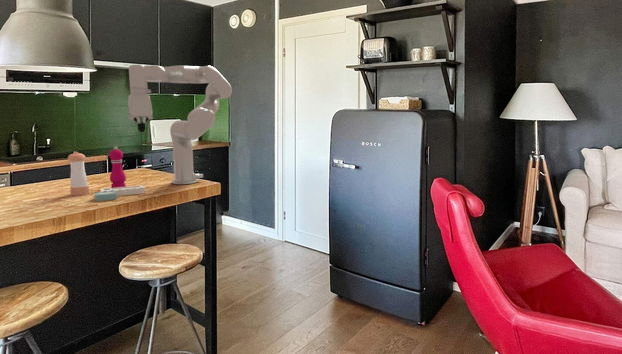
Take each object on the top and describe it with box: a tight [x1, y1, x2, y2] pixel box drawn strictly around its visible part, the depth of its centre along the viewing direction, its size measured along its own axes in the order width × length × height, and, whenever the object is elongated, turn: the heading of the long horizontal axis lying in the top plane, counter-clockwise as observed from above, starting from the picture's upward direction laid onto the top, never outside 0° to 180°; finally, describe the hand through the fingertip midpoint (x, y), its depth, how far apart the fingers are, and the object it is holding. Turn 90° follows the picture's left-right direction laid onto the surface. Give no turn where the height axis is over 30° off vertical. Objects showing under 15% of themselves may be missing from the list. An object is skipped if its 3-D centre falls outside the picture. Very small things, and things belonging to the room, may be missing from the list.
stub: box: [94, 191, 117, 202], centre depth 189 cm, size 8×6×3 cm
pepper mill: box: [108, 146, 127, 188], centre depth 212 cm, size 7×7×20 cm
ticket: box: [99, 185, 146, 197], centre depth 199 cm, size 18×7×3 cm, turn 119°
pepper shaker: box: [67, 151, 90, 196], centre depth 197 cm, size 7×7×19 cm
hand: (141, 131), depth 207 cm, fingers closed
